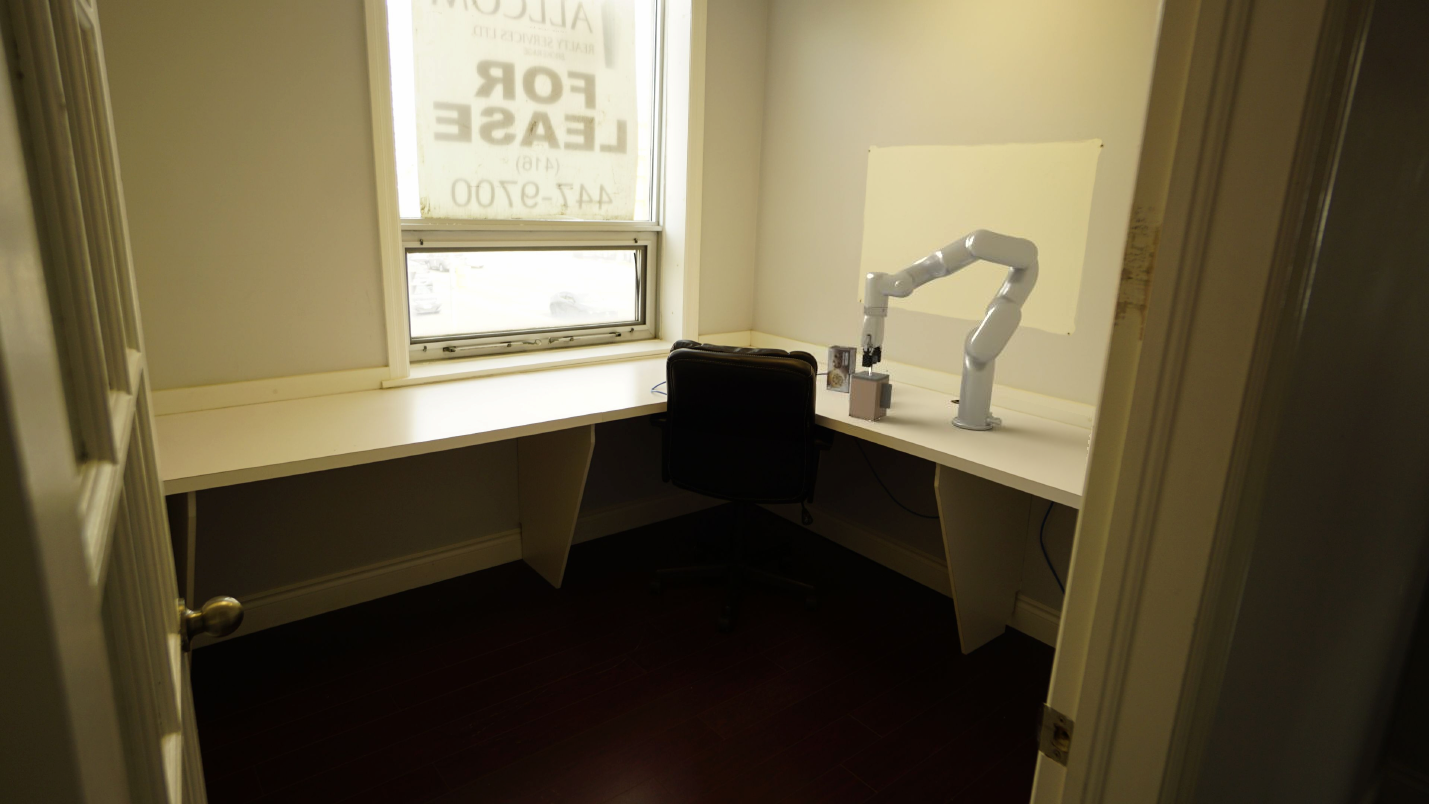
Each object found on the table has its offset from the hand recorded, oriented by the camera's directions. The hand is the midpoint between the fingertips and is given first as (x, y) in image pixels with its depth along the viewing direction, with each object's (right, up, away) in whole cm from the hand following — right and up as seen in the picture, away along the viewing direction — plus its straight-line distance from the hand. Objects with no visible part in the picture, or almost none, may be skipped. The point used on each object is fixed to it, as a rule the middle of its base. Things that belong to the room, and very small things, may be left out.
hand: (871, 364), depth 250 cm
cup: (+1, -13, +21) cm, 25 cm away
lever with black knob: (0, -14, +4) cm, 14 cm away
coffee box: (-4, -8, +39) cm, 40 cm away
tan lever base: (+1, -17, +4) cm, 18 cm away
